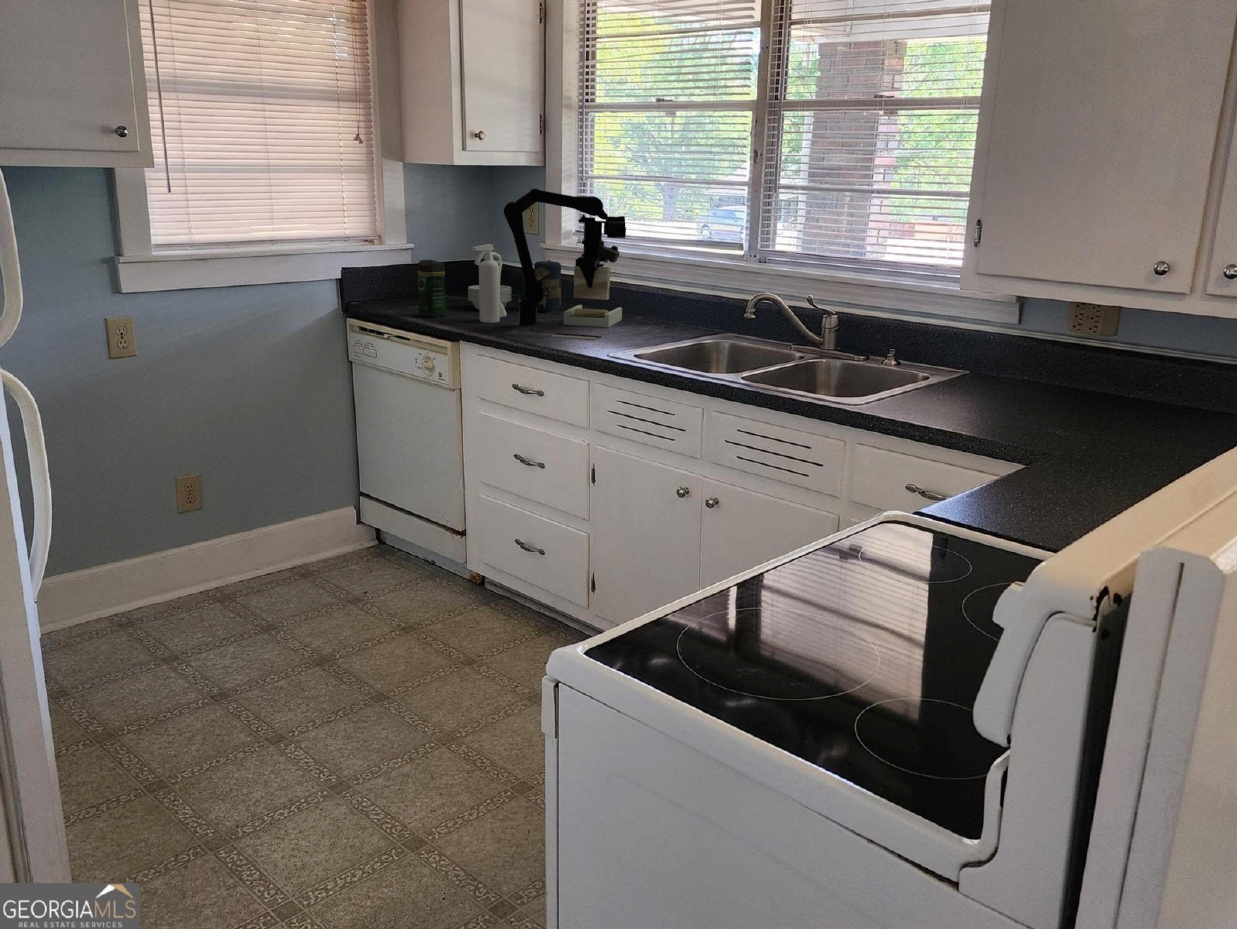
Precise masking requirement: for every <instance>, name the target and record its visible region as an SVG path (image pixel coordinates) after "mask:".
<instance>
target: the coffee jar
mask: <svg viewBox="0 0 1237 929" xmlns="http://www.w3.org/2000/svg"><path fill="white" fill-rule="evenodd" d="M416 270H417V271H416V272H417V278H418V280H417V281H418V282H417V283H418V304H417V306H418V308H417V309H418V315H420V316H422V317H426V318H430V317H431V318H432V317H433V318H440V317H444V316H446V315H447V312H446V311H447V310H446V308H447V307H446V294H445V293H446V292H445V275H446V271H445V270H446V269H445V264H444V263H443V262H442V261H437V260H434V259H421V260H419V261H418V263H417V268H416Z"/></svg>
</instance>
